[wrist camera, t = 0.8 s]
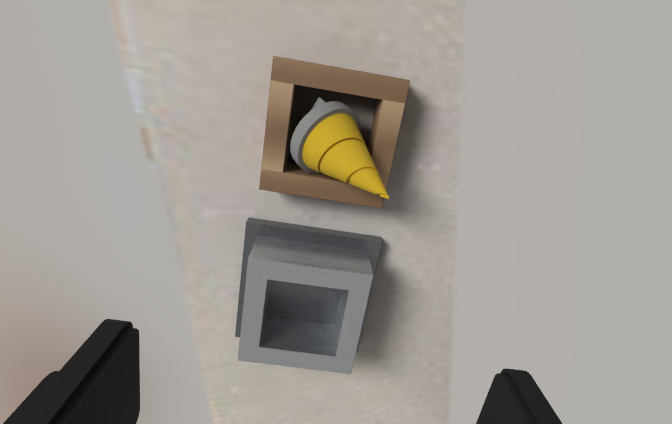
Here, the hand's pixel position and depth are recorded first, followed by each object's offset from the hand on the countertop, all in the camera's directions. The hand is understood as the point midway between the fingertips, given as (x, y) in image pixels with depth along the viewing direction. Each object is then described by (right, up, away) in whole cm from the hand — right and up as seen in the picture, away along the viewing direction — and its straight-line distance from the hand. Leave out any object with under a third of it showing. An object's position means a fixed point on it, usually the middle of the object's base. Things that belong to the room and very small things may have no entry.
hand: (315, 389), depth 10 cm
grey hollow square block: (-2, -2, +24) cm, 24 cm away
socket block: (0, +11, +20) cm, 22 cm away
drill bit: (+1, +10, +20) cm, 22 cm away
